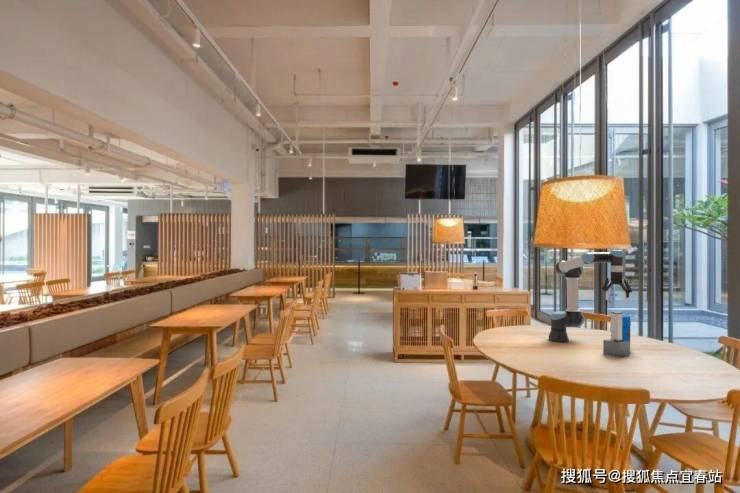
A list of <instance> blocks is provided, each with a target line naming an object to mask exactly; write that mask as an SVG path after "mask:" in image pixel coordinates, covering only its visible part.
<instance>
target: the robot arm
mask: <svg viewBox="0 0 740 493" xmlns="http://www.w3.org/2000/svg"><path fill="white" fill-rule="evenodd" d="M596 263H598V264H602V263H605V264H606V263H607V264H608V263H609V264H610V277H606V279H605V281H604V283H603V286H602V287H601V290H603V291H604V295H605V300H606V301H608V300H610V291H609V290H610V288H611V287H612V286H613V285H617V286H618V285H619V286H620V287H621V289H622V290H623V291H624V292H625V293H624V303H629V298H630V293H632V292H633V290H632V288H631V286H630V284H629V282H628V278H623V277H624V272H623V271H624V252H623V250H621V249H619V250H618V249H611V250H610V252H606V251H605V252H604V251H602V252H601V251H600V252H591V251H590V252H584V253H583V254H582V255H580V256H576V257H574V258H571V259H568V260H561V261H558V262H557V263H555V265H554V267H553V268H554V271H555V273H556V274H557V275H559V276H563V277H564V279H565V280H566V305H567V306H566V307H567V308H566V309H565V311H564V310H560V311H559V310H557V311H552V312H551V314H550V332H549V335H548V341H550V340H552V341H551V342H554V341H556V342H555V343H568V342H569V341H570V340H569V339H570V338H569V337H568V333H567V328H579V327H581V326H583V324H584V323H585V315H584V314H583V313H582V311H581V309H580V306H579V303H580V302H579V301H580V300H579V279H581V276H582V275H583V273H584V267H583V266H587V265H590V264H596Z"/></svg>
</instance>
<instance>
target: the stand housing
mask: <svg viewBox="0 0 740 493" xmlns="http://www.w3.org/2000/svg"><path fill="white" fill-rule="evenodd" d="M602 343H603V345H602V346H603V347H602V350H603V354H604V355H607V356H612V357H616V358H624V357H627V356H630V355H631V340H630V341H626V340H622V342H615V340H612V339H611V337H610V338H607V339H603V342H602Z"/></svg>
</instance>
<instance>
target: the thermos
mask: <svg viewBox="0 0 740 493" xmlns="http://www.w3.org/2000/svg"><path fill="white" fill-rule="evenodd" d="M622 340H626V341H630V342H631V316H630V315H625V314H622Z"/></svg>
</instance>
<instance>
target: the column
mask: <svg viewBox="0 0 740 493" xmlns="http://www.w3.org/2000/svg"><path fill="white" fill-rule="evenodd" d="M622 315H624V311H616V310H615V311H610V338H611V339H612V340H615V342H622Z"/></svg>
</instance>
